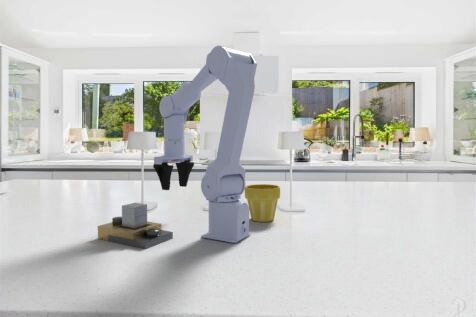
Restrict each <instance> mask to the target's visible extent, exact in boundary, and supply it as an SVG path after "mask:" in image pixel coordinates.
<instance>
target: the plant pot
mask: <svg viewBox="0 0 476 317" xmlns="http://www.w3.org/2000/svg"><path fill="white" fill-rule="evenodd" d="M244 197H245V199H246V200H247V204H248V207H249V216H250V219H251V220H252V221H254V222H257V223H258V222H259V223H261V222H262V223H264V222H265V223H266V222H267V223H269V222H272V221H274V220H275V216H276V210H277V205H278V200H279V199H281V186H279V185H277V184H268V183H267V184H266V183H262V184H261V183H260V184H259V183H258V184H257V183H256V184H248V185H245V190H244Z"/></svg>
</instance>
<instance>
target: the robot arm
mask: <svg viewBox="0 0 476 317" xmlns="http://www.w3.org/2000/svg"><path fill="white" fill-rule="evenodd" d="M257 67H258V63H257V61H256V60H255V59H254V57H253V55H252V54H251V53H250V52H246V51H241V50H236V49H233V48H230V47H229V48H228V47H225V46H223V45H216V46H214V47H212V49H211V51H210V52H209V53H208V54H206V60H205V63H204V65H203V67H202V68H201V69H200V70H199V72H198V73H197V74H196V76H195V77H194V78H193V79H192V80H191V81H183V82H182V83H181V86H179V87H178V89H176V90H175V91H174V93H173V94H171V95H164V96H163V97H161V100H160V102H159V108H158V109H159V113H160V115H161V117H162V118H163V155H160V156H154V157H153V162H154V163H153V170H154V171H155V173H156V175H157V176H158V179H159V182H160V185H161V190H162V191H170V189H171V177H172V173H173V169H174V165H169V164H175V166H176V169H177V176H178V184H179V187H184V188H186V187H187V186H188V182H189V177H190V175H191V172H192V169H193V167H194V166H195V162H193V158H194V157H193V156H194V155H193V154H185V144H186V142H185V135H186V134H185V125H186V123H187V117H188V115H189V112H190V111H189V110H190V108H191V107H192V106H194V105H195V104H196V103H197V102H198V101H199V100H200V99H201V97H202V91H204V90H205V89H206V88H208V87H209V86H210V85H212V84H213V83H214V82H215V81H217V80H218V81H220V83H221V84H222V85H223V86H224V87H225V88H226V90H227V91H228V95H227V101H226V107H225V111H224V117H223V122H222V127H221V132H220V137H219V143H218V148H217V152H216V158H215V159H214V160H213V161H212V162H210V163H209V164H208V165H207V167H206V170H205V174H204V175H203V177H202V179H201V182H200V189H201V192H202V195H203V196H204V197H205V199H206V200H205V201H208V231H207V232H205V233H203V234H201V235H200V236H201V238H206V239H211V240H216V241H221V242H228V243H232V244H236V243H238V242H240V241H241V240H243V239H245V238H247V237H249V236H250V235H251V232H250V210H249V205H248V202H245V201H241V200H240V199H241V196H242V195H243V194H244V193H245V186H246V178H245V177H246V172H247V171H246V169H245V168H244V166H243V165H242V164H241V163H240V161H241V156H242V151H243V147H244V146H243V145H244V142H245V137H246V132H247V126H248V122H249V117H250V113H251V109H252V105H253V104H252V103H253V100H254V94H255V90H256V88H255V87H256V85H255V76H256V71H257Z"/></svg>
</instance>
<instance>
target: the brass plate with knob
mask: <svg viewBox="0 0 476 317" xmlns="http://www.w3.org/2000/svg"><path fill="white" fill-rule="evenodd" d="M111 221H112V222H111ZM111 221H110V222H108V223H104V224H101V225H98V226H97V239H98V240H102V239H103V241H108V242H111V241H112V243H116V242H117V244H121V245H125V246H130V247H135V248H138V249H142V250H145V249H149V248H151V247H153V246H156V245H159V244H162V243H165V242H167V241H169V240H171V239H173V238H174V237H173V236H174V235H173V234H174V232H173V231H170V230H163V229H162V223H159V222H153V221H147V227H144V228H141V229H137V230H131V229H126V228H122V216H115V217H112V220H111Z"/></svg>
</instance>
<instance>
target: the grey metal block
mask: <svg viewBox="0 0 476 317" xmlns="http://www.w3.org/2000/svg"><path fill="white" fill-rule="evenodd" d="M121 217H122V228H126V229H131V230H137V229H141V228H144V227H147V222H148V204H146V203H138V202H133V203H128V204H124V205H121Z"/></svg>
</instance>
